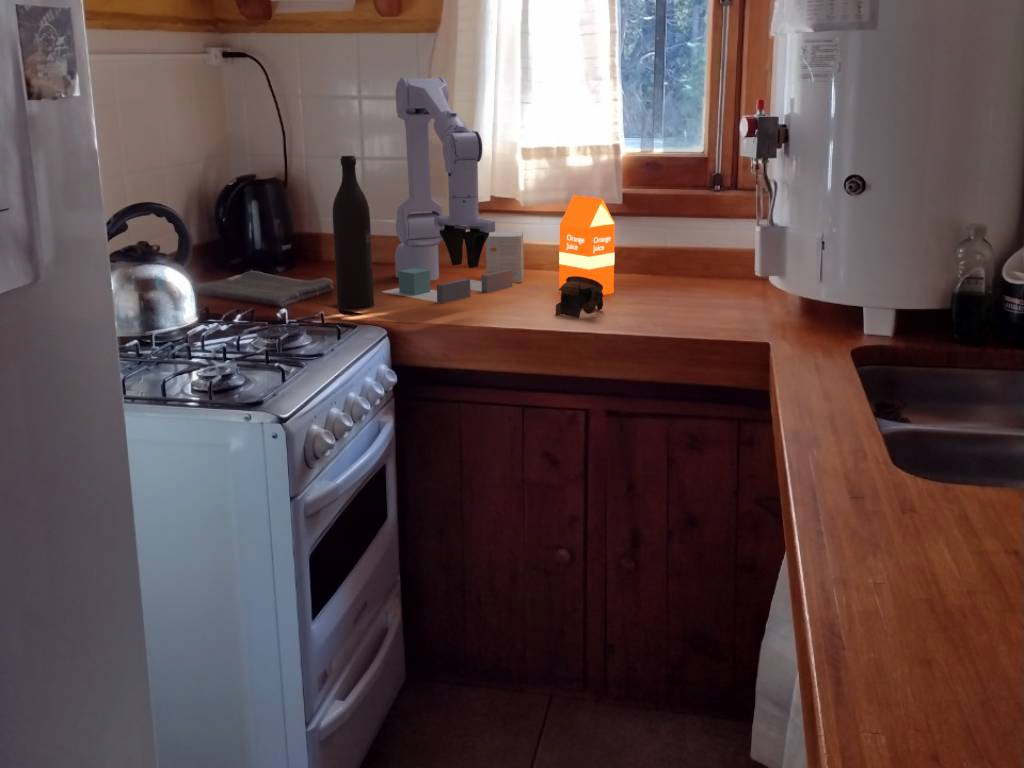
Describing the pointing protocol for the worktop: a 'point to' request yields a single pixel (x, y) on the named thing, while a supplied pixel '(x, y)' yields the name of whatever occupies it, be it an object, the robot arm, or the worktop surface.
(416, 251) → the robot arm
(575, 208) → the orange juice
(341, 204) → the wine bottle
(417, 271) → the teal block
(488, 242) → the small box
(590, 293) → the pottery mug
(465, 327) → the worktop surface
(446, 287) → the grey piece
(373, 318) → the worktop surface
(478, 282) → the grey l-shaped block
